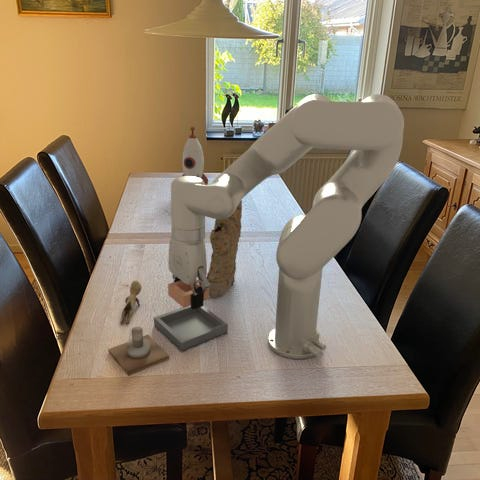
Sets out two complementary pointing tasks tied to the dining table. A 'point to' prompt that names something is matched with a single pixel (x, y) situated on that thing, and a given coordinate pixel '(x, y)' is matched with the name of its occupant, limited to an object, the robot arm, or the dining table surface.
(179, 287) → the ring
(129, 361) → the brown piece
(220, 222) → the tan log
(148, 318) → the dining table surface
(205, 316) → the tray
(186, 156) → the toy
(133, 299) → the figurine
